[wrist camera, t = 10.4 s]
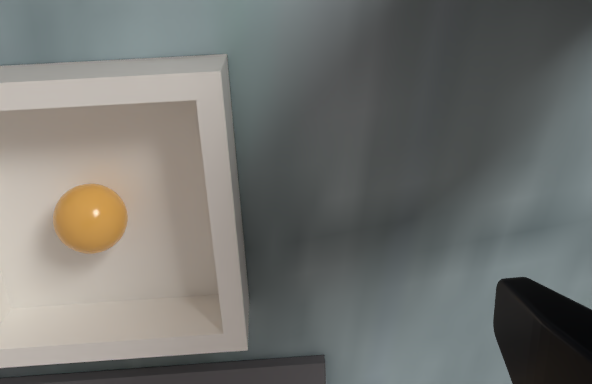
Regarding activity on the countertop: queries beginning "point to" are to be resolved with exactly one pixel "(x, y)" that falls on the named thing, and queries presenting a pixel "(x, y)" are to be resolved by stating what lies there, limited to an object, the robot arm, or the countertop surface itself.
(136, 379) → the mat
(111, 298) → the dish
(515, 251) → the countertop surface
